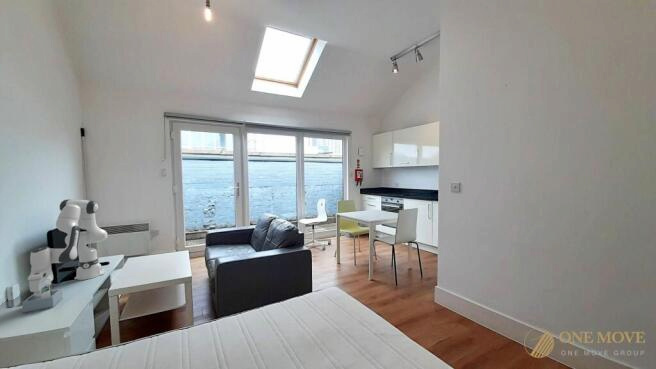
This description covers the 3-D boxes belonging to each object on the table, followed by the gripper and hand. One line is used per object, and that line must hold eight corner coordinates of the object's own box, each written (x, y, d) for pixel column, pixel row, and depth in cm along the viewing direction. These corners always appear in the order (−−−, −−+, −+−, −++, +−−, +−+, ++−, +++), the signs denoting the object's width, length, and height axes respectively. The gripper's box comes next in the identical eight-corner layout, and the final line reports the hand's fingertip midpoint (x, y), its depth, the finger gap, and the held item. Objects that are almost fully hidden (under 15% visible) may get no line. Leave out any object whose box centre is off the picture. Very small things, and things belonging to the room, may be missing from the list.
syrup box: (41, 304, 162) (40, 283, 161) (34, 304, 163) (33, 282, 162) (52, 300, 168) (51, 279, 167) (46, 299, 169) (44, 278, 168)
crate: (34, 303, 168) (33, 293, 168) (62, 298, 175) (62, 288, 174) (22, 313, 156) (22, 302, 156) (53, 307, 163) (52, 296, 162)
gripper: (42, 268, 172) (44, 287, 173) (25, 279, 154) (27, 300, 155) (55, 266, 175) (57, 285, 176) (40, 276, 157) (42, 298, 158)
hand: (43, 292), depth 165 cm, fingers closed on syrup box, 7 cm apart
